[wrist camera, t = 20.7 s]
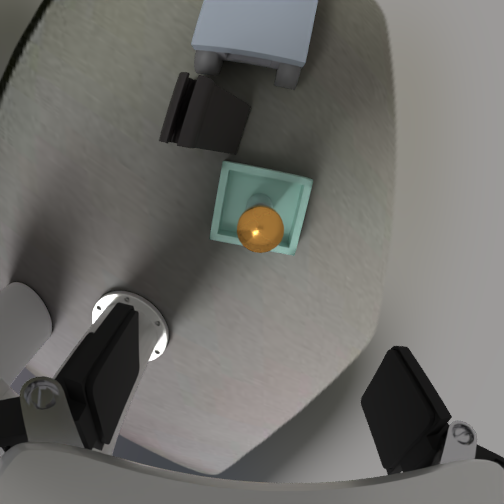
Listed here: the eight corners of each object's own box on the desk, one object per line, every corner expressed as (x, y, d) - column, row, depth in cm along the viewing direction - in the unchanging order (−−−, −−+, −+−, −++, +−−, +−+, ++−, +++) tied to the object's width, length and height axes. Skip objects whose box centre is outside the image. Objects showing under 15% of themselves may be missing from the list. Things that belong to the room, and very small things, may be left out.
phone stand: (251, 107, 31) (249, 86, 20) (235, 154, 33) (226, 159, 22) (178, 89, 30) (142, 65, 19) (164, 136, 32) (121, 133, 21)
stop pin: (272, 225, 35) (278, 256, 26) (239, 218, 35) (233, 247, 26) (279, 192, 34) (288, 212, 24) (245, 186, 34) (241, 203, 24)
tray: (291, 248, 37) (294, 255, 34) (212, 232, 36) (209, 239, 34) (309, 177, 34) (313, 180, 31) (225, 160, 33) (222, 161, 31)
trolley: (313, -5, 25) (327, -39, 17) (292, 93, 30) (304, 77, 22) (226, -20, 25) (219, -55, 16) (199, 77, 30) (182, 57, 22)
